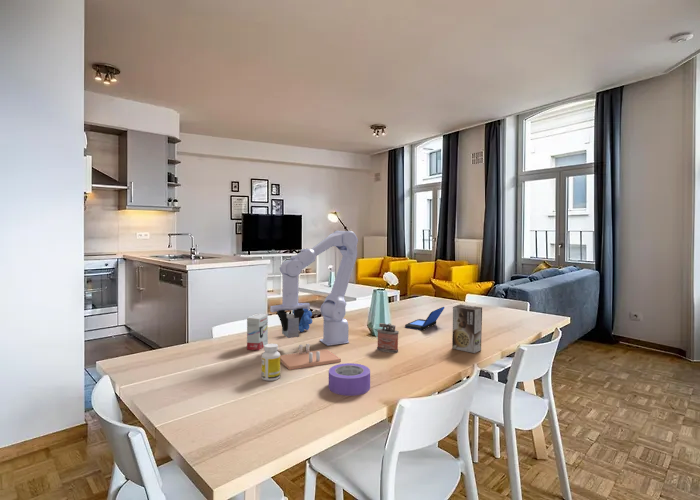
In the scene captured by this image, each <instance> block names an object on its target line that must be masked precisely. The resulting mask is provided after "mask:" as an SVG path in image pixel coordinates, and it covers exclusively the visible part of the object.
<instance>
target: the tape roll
mask: <svg viewBox="0 0 700 500" xmlns="http://www.w3.org/2000/svg"><path fill="white" fill-rule="evenodd" d="M328 390H329V391H331V393H333V394H336V395H339V396H349V397H350V396H351V397H352V396H360V395H363V394H366V393H368V392H369V391H370V390H371V369H370V368H369V367H368V366H366V365H364V364H360V363H354V362H351V363H350V362H346V363H339V364H336V365H333V366H330V368H329V369H328Z"/></svg>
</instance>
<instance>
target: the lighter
mask: <svg viewBox="0 0 700 500" xmlns="http://www.w3.org/2000/svg"><path fill="white" fill-rule="evenodd" d="M378 327H380V328H377V330H376V333H377V347H376V350H377V351H379V352H384V353H393V354H394V353H395V354H396V353H399V334H400V333H399V331H398V330H396V324H392V323H385V322H380V323H379V324H378Z"/></svg>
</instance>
